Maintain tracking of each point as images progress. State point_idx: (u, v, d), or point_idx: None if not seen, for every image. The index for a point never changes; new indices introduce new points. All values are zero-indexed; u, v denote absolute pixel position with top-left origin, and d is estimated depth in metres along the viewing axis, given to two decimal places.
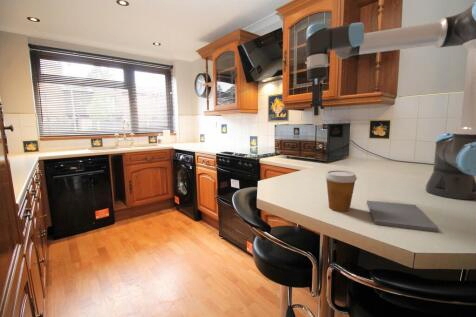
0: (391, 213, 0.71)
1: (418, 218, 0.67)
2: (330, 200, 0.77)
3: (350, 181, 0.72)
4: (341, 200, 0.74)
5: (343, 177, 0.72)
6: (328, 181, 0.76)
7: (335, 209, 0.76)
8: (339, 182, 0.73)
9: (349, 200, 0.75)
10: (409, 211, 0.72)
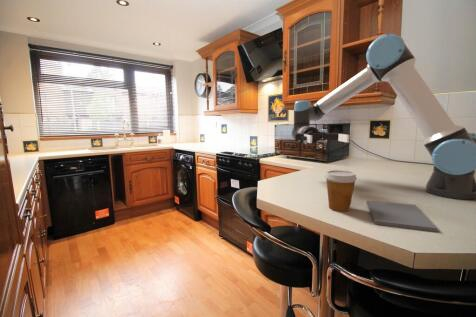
0: (391, 213, 0.71)
1: (418, 218, 0.67)
2: (330, 200, 0.77)
3: (350, 181, 0.72)
4: (341, 200, 0.74)
5: (343, 177, 0.72)
6: (328, 181, 0.76)
7: (335, 209, 0.76)
8: (339, 182, 0.73)
9: (349, 200, 0.75)
10: (409, 211, 0.72)
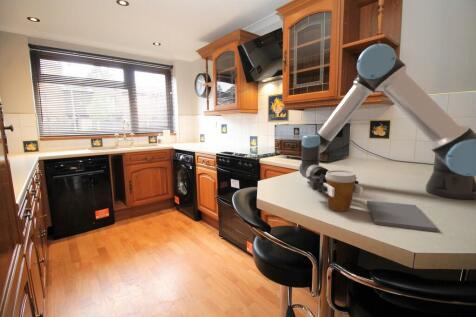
0: (391, 213, 0.71)
1: (418, 218, 0.67)
2: (330, 200, 0.77)
3: (350, 181, 0.72)
4: (341, 200, 0.74)
5: (343, 177, 0.72)
6: (328, 181, 0.76)
7: (335, 209, 0.76)
8: (339, 182, 0.73)
9: (349, 200, 0.75)
10: (409, 211, 0.72)
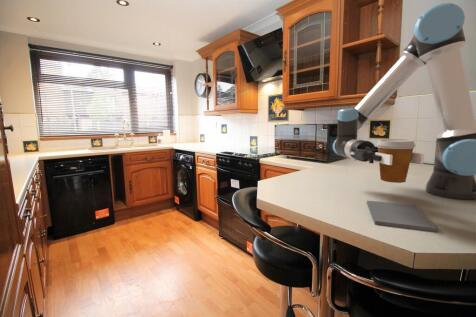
0: (391, 213, 0.71)
1: (418, 218, 0.67)
2: (384, 171, 0.69)
3: (409, 147, 0.65)
4: (398, 170, 0.67)
5: (402, 143, 0.65)
6: (382, 149, 0.68)
7: (390, 180, 0.68)
8: (397, 149, 0.65)
9: (407, 170, 0.67)
10: (409, 211, 0.72)
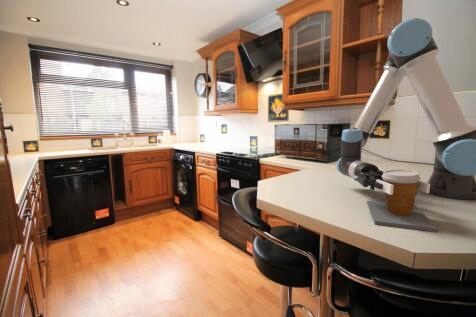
0: (391, 213, 0.71)
1: (418, 218, 0.67)
2: (390, 203, 0.70)
3: (414, 181, 0.66)
4: (404, 203, 0.68)
5: (407, 177, 0.66)
6: (387, 182, 0.70)
7: (397, 212, 0.69)
8: (402, 183, 0.66)
9: (413, 202, 0.68)
10: None
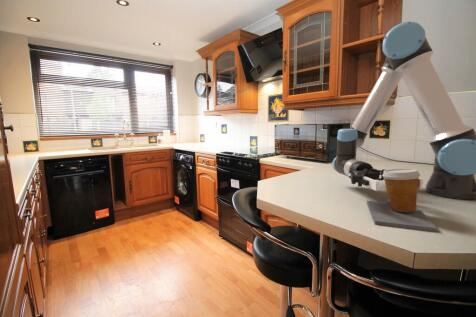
0: (391, 213, 0.71)
1: (418, 218, 0.67)
2: (393, 201, 0.71)
3: (415, 177, 0.68)
4: (407, 200, 0.69)
5: (407, 173, 0.68)
6: (388, 180, 0.71)
7: (401, 210, 0.70)
8: (403, 179, 0.68)
9: (415, 198, 0.69)
10: None
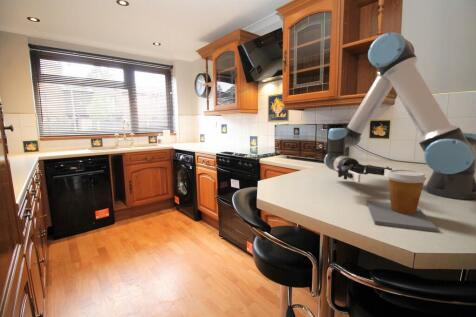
0: (391, 213, 0.71)
1: (418, 218, 0.67)
2: (395, 202, 0.71)
3: (421, 181, 0.67)
4: (409, 202, 0.69)
5: (414, 177, 0.66)
6: (394, 181, 0.70)
7: (401, 212, 0.70)
8: (409, 182, 0.67)
9: (417, 202, 0.69)
10: None
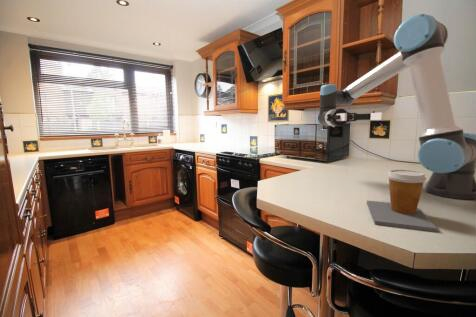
0: (391, 213, 0.71)
1: (418, 218, 0.67)
2: (395, 202, 0.71)
3: (421, 181, 0.67)
4: (409, 202, 0.69)
5: (414, 177, 0.66)
6: (394, 181, 0.70)
7: (402, 212, 0.70)
8: (409, 182, 0.67)
9: (417, 202, 0.69)
10: None
